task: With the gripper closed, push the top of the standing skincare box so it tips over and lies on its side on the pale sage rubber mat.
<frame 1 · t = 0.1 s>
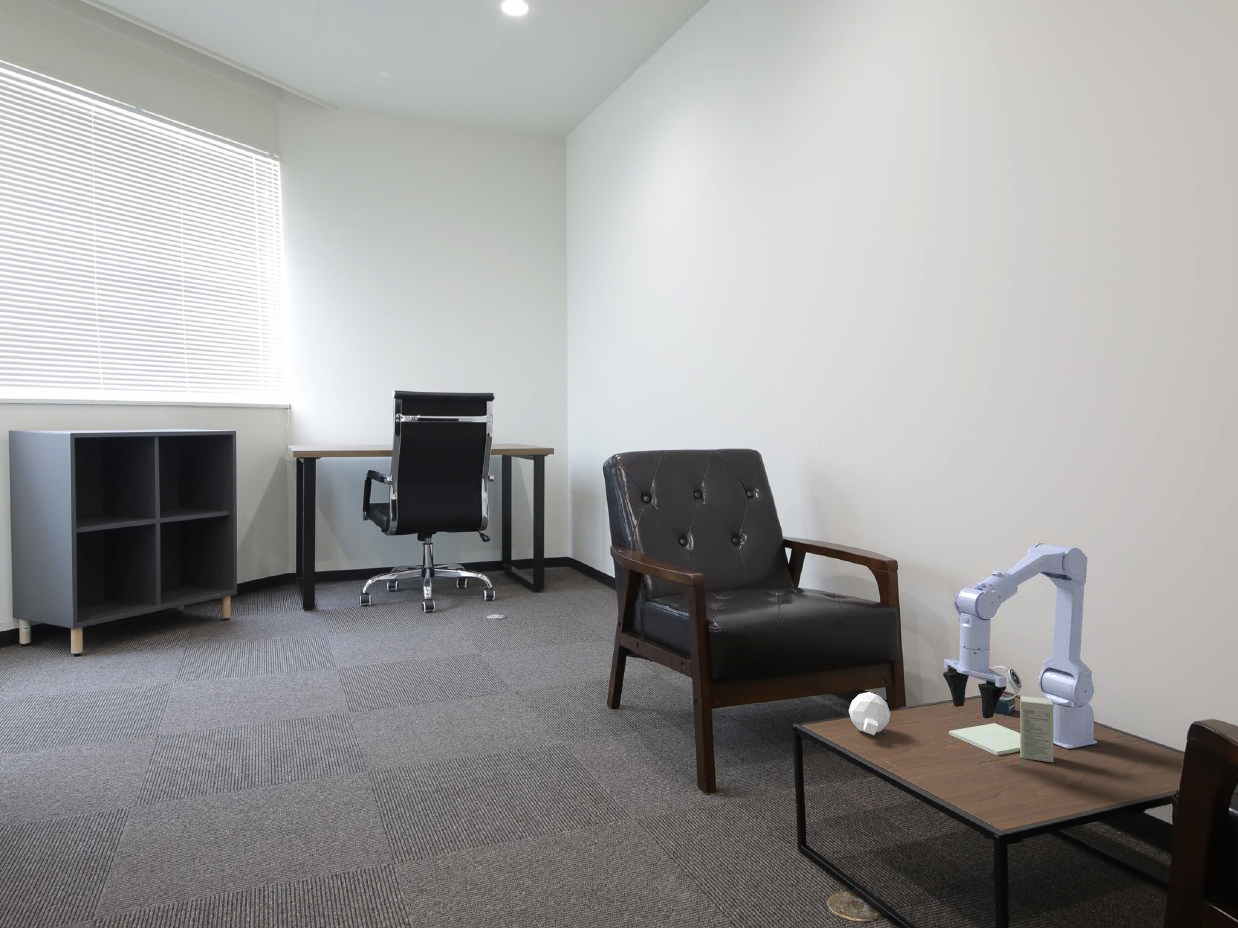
hand: (973, 711, 168), 10 cm above the table, fingers open, 7 cm apart
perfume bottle: (866, 734, 183), on the table
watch: (1002, 711, 199), on the table
mat: (995, 740, 179), on the table
skincare box: (1035, 757, 170), on the table
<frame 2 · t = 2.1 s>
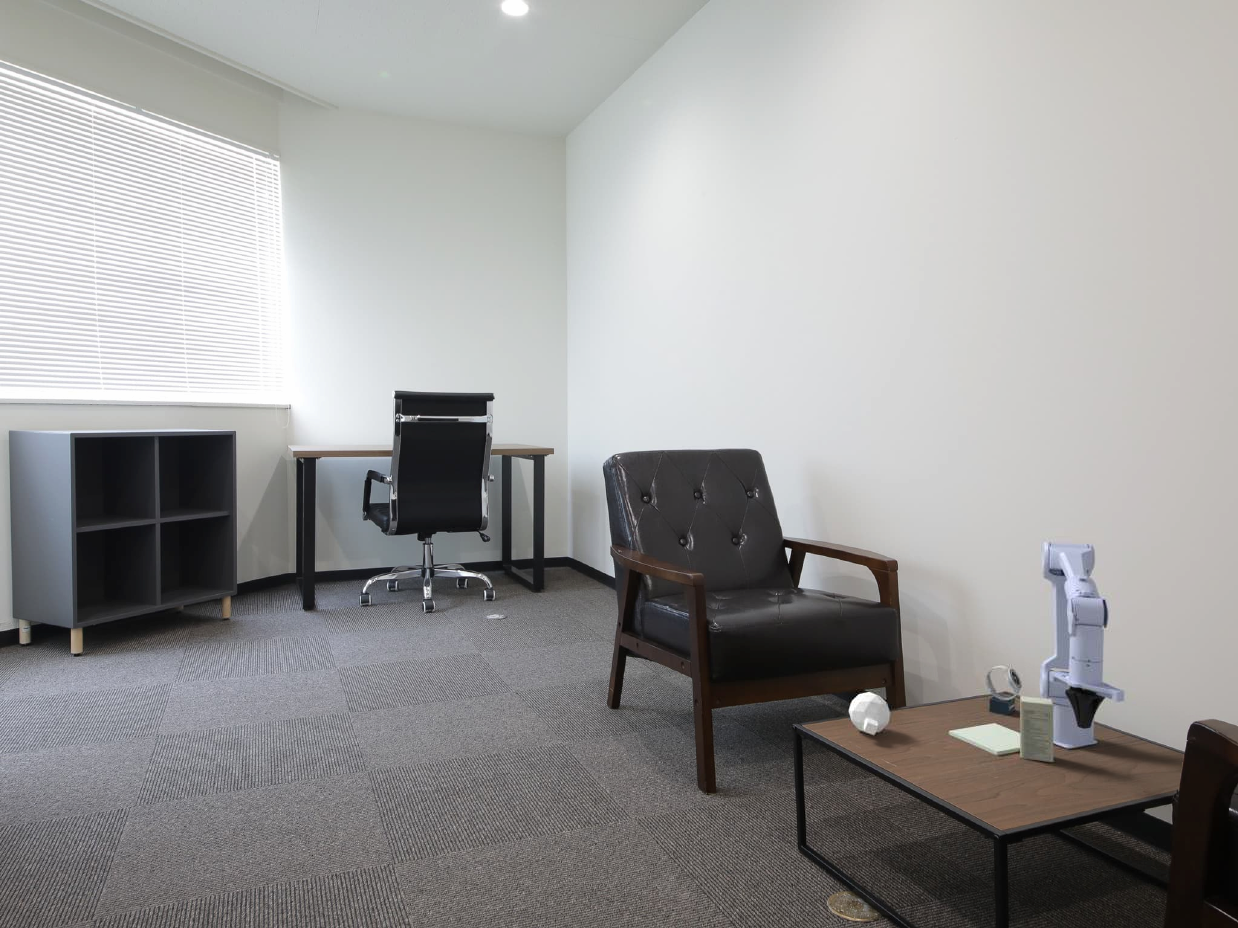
hand: (1084, 727, 159), 10 cm above the table, fingers closed
nothing on the table moved.
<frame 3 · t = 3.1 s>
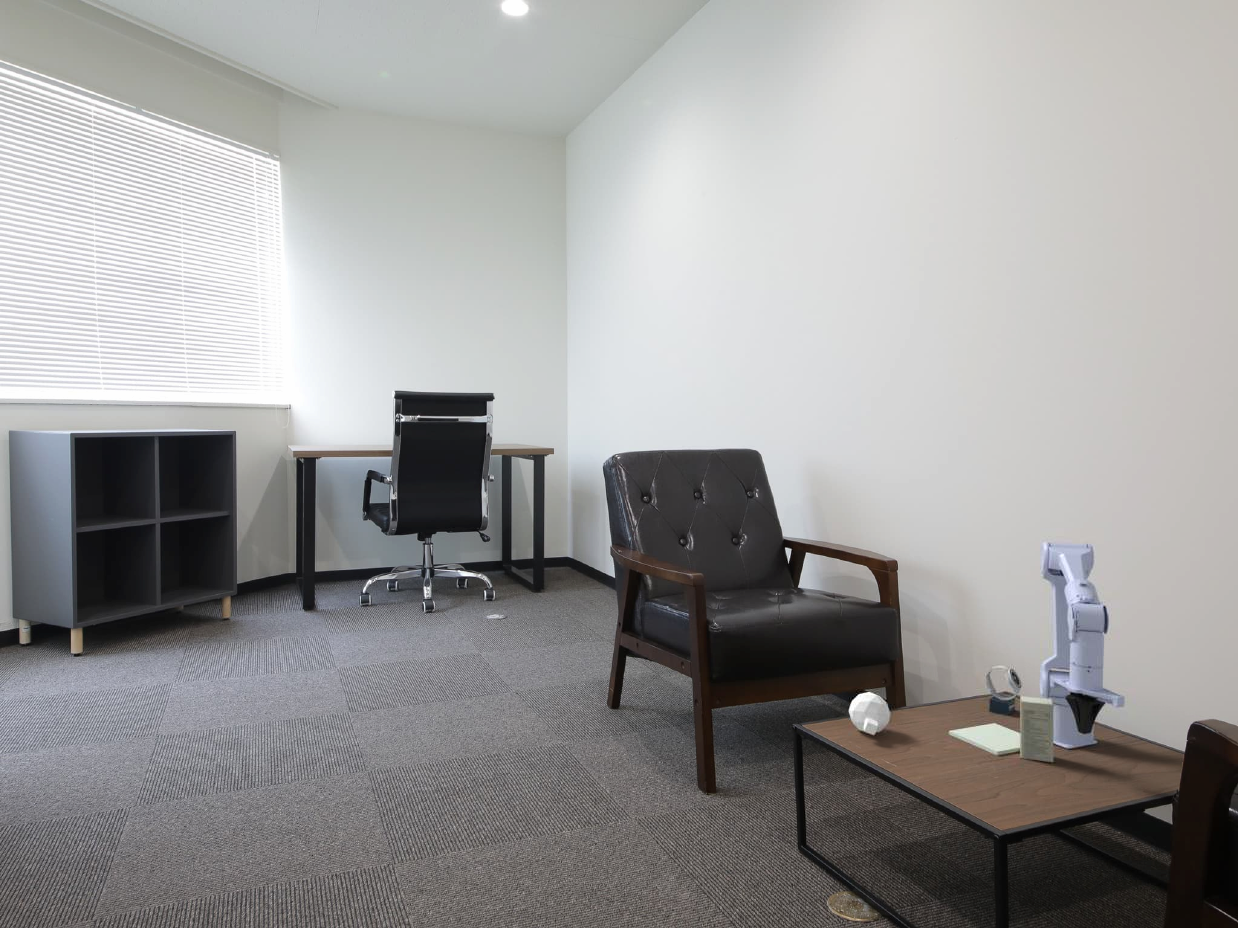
hand: (1084, 732, 160), 9 cm above the table, fingers closed
nothing on the table moved.
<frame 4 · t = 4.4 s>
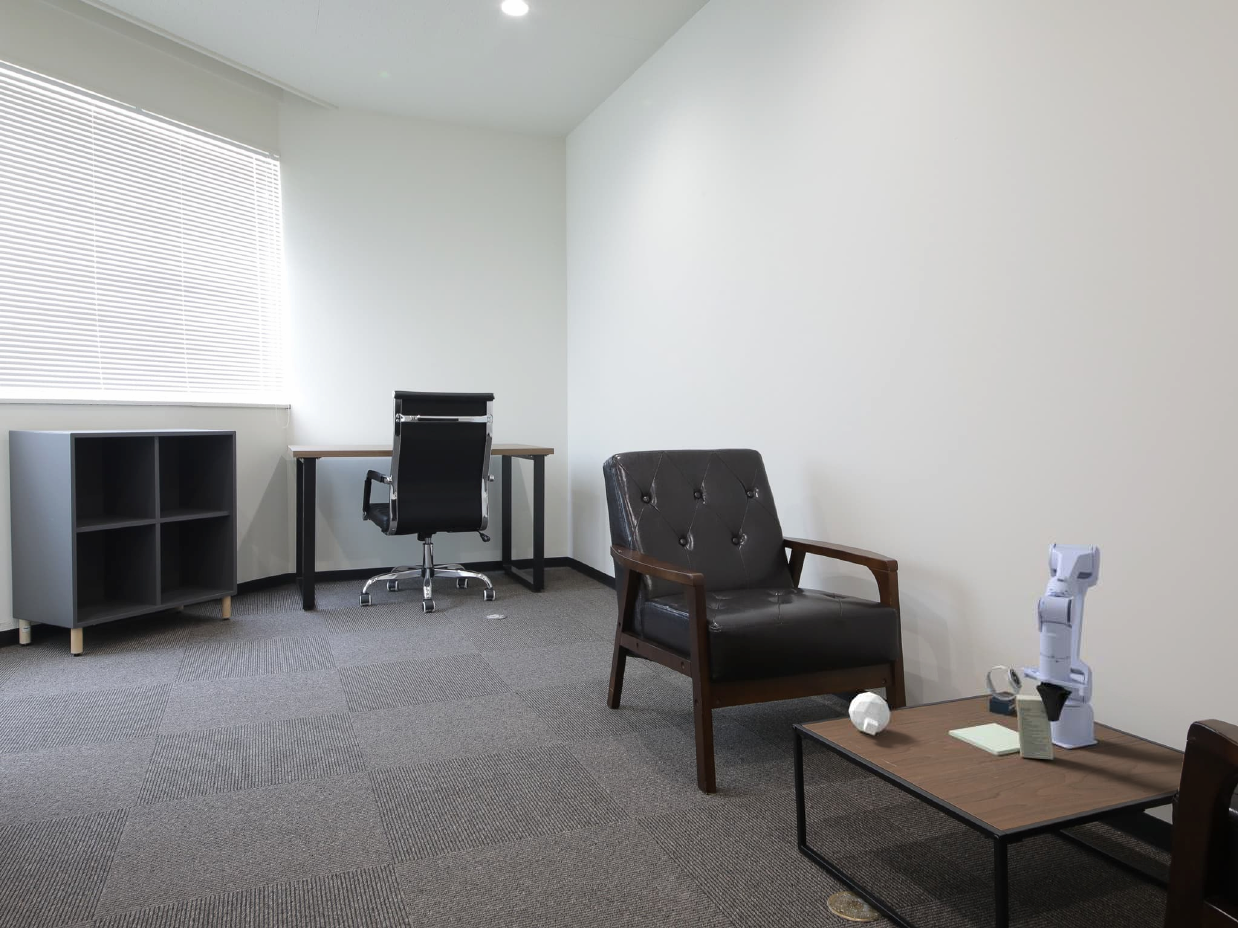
hand: (1053, 720, 166), 9 cm above the table, fingers closed
skincare box: (1035, 756, 170), on the table, touching gripper
everything else where it was.
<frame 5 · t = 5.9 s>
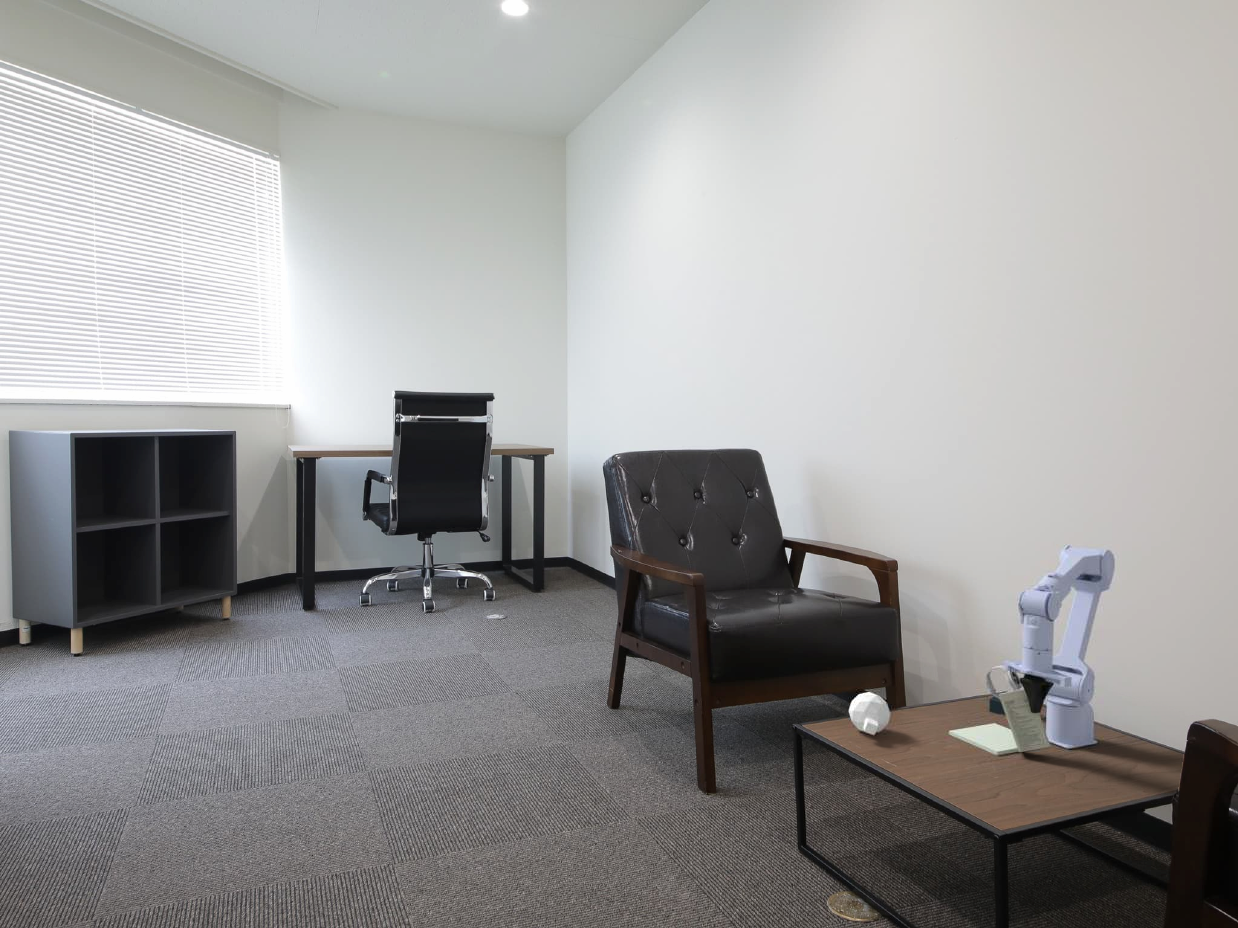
hand: (1035, 712, 169), 10 cm above the table, fingers closed, pressing on skincare box
skincare box: (1034, 750, 170), point 1 cm above the table, touching gripper, mat
everything else where it was.
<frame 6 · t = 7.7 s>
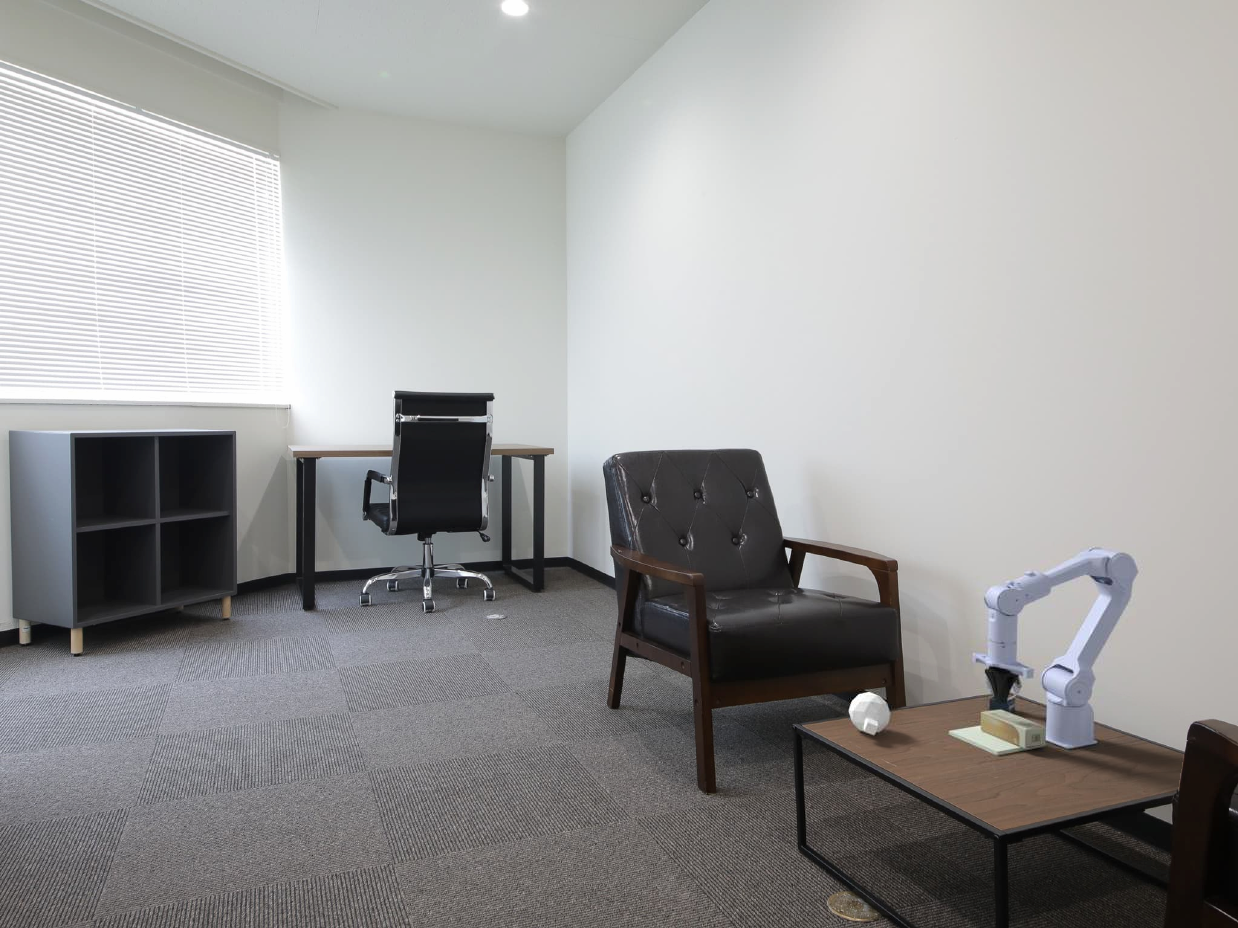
hand: (1001, 702, 178), 9 cm above the table, fingers closed
skincare box: (1036, 738, 173), point 3 cm above the table, touching mat
everything else where it was.
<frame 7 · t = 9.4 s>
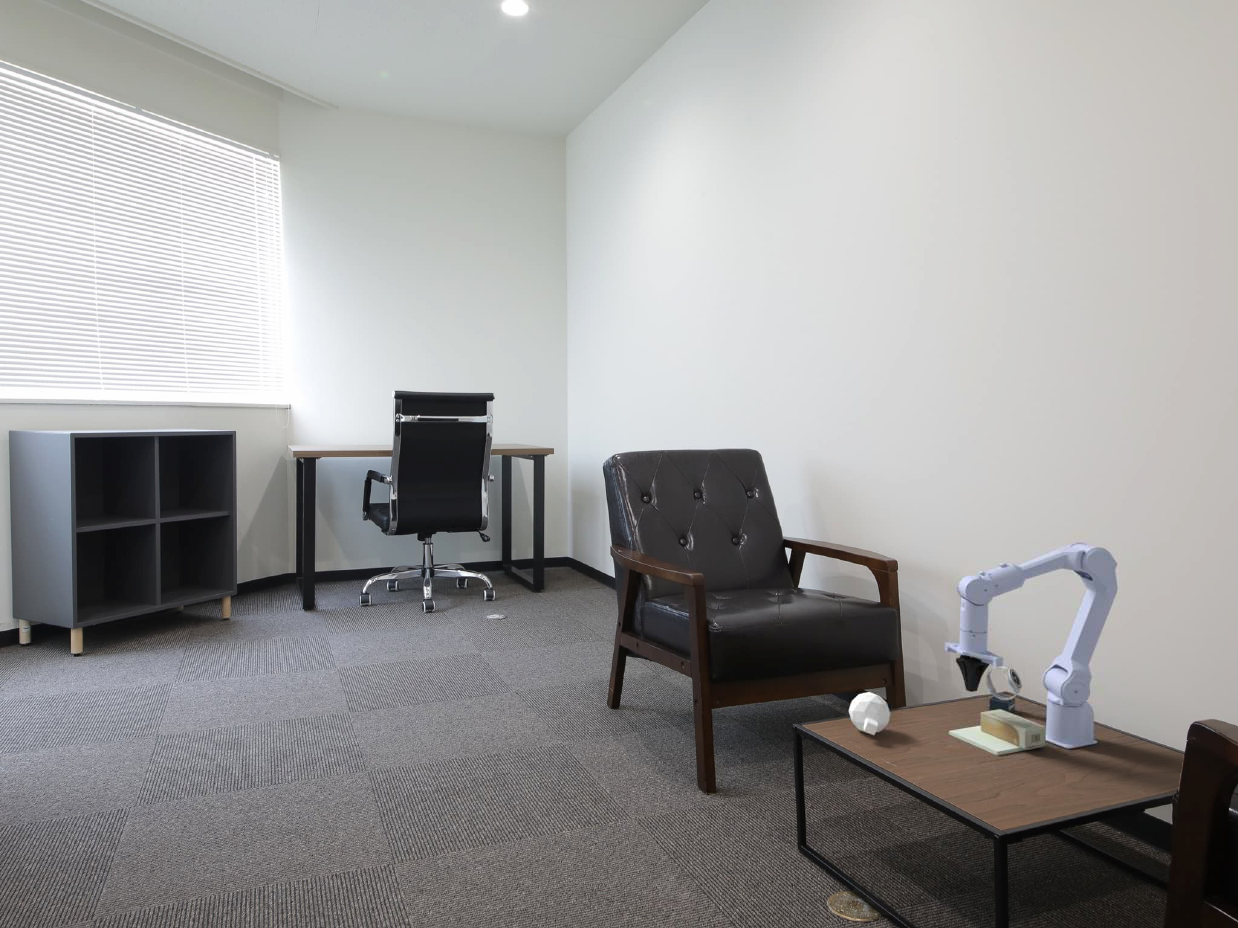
hand: (971, 690, 181), 11 cm above the table, fingers closed
nothing on the table moved.
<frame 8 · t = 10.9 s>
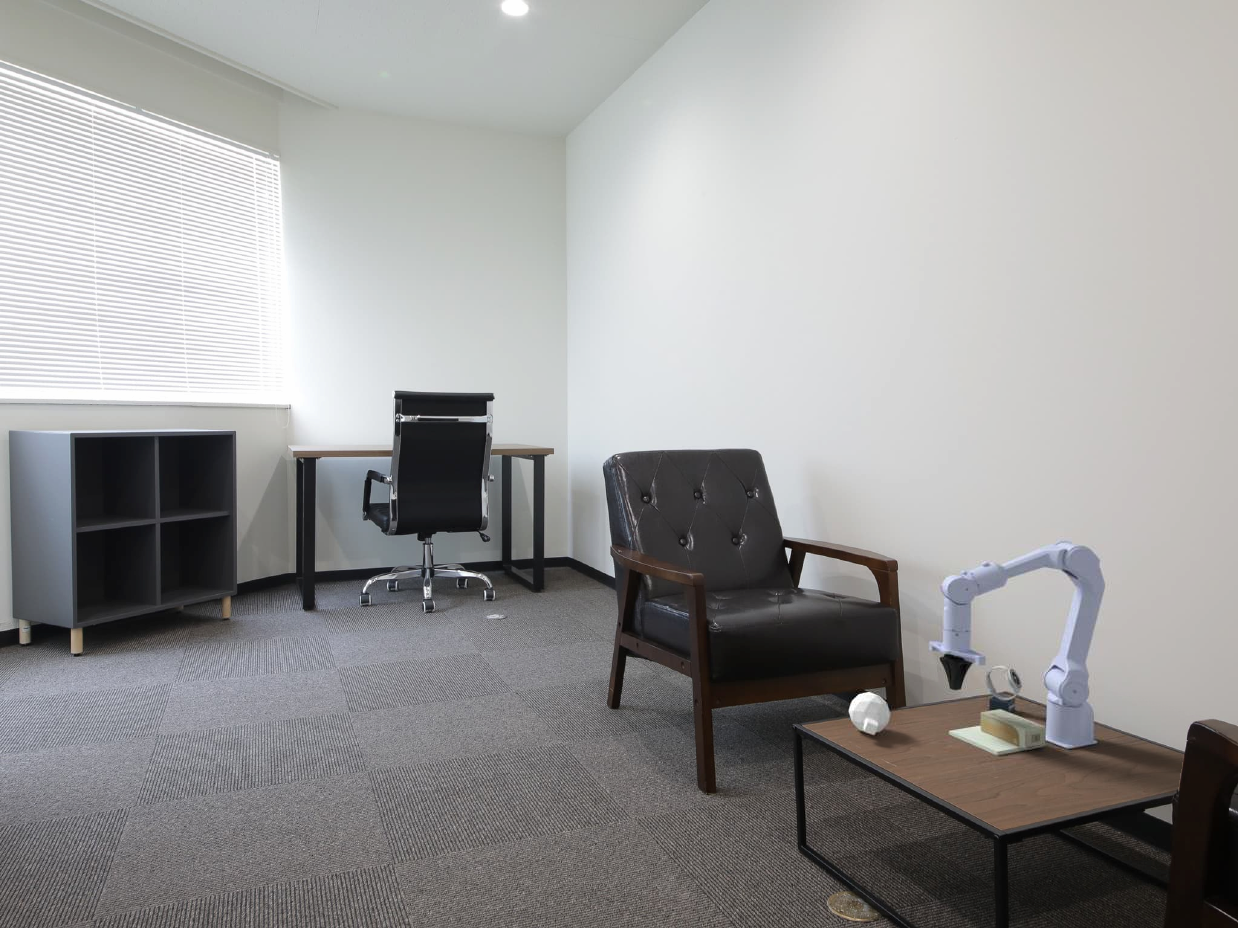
hand: (955, 688, 182), 10 cm above the table, fingers closed
nothing on the table moved.
at the end: skincare box tilted 90°; skincare box touching mat; skincare box inside the target area (6.3 cm from its centre), point 3.0 cm above the table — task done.
